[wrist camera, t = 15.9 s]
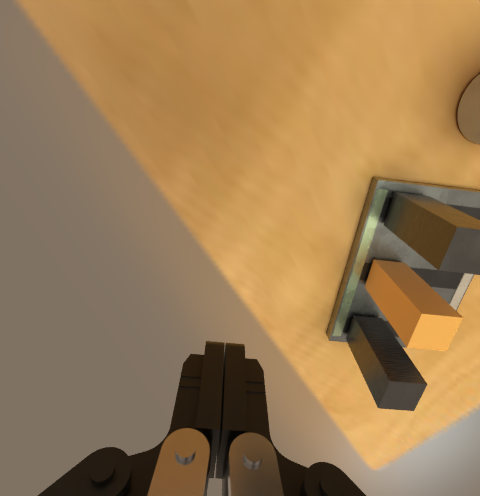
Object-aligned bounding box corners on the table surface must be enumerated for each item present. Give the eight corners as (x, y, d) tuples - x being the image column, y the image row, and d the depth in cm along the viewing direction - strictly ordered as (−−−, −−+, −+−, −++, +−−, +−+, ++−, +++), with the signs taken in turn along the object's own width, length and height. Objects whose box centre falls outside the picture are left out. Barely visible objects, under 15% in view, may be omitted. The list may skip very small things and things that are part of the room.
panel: (372, 176, 36) (438, 212, 25) (502, 192, 37) (626, 234, 26) (326, 333, 46) (357, 413, 34) (430, 343, 47) (496, 423, 35)
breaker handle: (373, 259, 39) (421, 313, 29) (405, 262, 39) (463, 317, 29) (364, 287, 40) (406, 347, 30) (394, 290, 41) (446, 351, 31)
